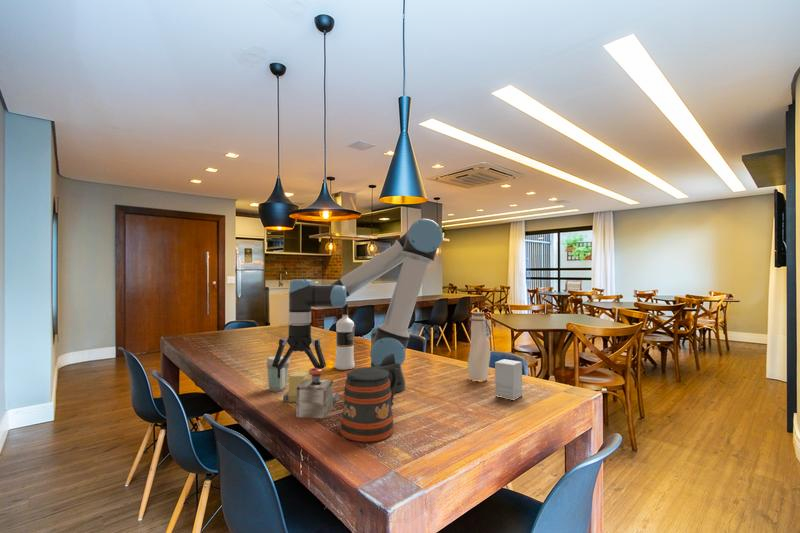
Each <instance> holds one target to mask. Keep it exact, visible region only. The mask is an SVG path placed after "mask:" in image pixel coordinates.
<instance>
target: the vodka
mask: <svg viewBox="0 0 800 533" xmlns="http://www.w3.org/2000/svg"><path fill="white" fill-rule="evenodd" d="M335 326H336V328H335V329H336V330H335V331H336V335H335V336H336V342H335V343H336V346H335V352H336V353H335V360H334V361H335V362H334V368H335V369H336V370H338V371H348V369H350V370H352V369H355V367H356V366H355V364H356V362H355V358H354V357H355V356H354V348H355V346H354V343H355V339H354V336H355V335H354V334H355V333H354V332H355V323H354V321H353V320H352V319H351V318H349V303H347V302H346V305H345V306H344V307H342V316H341V318H340V319H338V320H337V322H336V324H335Z"/></svg>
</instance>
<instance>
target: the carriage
mask: <svg viewBox="0 0 800 533" xmlns="http://www.w3.org/2000/svg"><path fill="white" fill-rule="evenodd" d="M309 375H310V374H309V371H293V372H292V373H291V374H290V375H288V391H289V401H288V402H289V403H291V402H292V403H293V402H296V403H297V387H298V386H299V385H300V384H301V383H302V382H303V381H304V380H305V379H310V377H309Z"/></svg>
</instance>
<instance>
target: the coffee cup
mask: <svg viewBox="0 0 800 533" xmlns="http://www.w3.org/2000/svg"><path fill="white" fill-rule="evenodd" d="M275 356H276V355H271V356H269V357H267V359H266V365H267V377H268V387H269V389H268V390H269V391H270V392H273V393H278V392H284V391H285V390H286V389H287V384H288V383H287V382H288V377H289V367H290V364H291V360H290V357H289V358H288V360H287V361H286V363H285V364H284V366H283V368H285V387H284V388H282V389H280V378H278V369H277V368H276V367H273V366H272V364H273V361H274V358H275ZM284 356H285V354H284V355H281V358H280V360H279V363H280V362H281V360H282V359H283V357H284Z"/></svg>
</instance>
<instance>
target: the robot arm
mask: <svg viewBox="0 0 800 533" xmlns="http://www.w3.org/2000/svg"><path fill="white" fill-rule="evenodd" d="M442 242H443V231H442V228H441V226H440V225H439V224H438V223H437V222H436V221H434V220H432V219H429V218H422V219H417V220H416V221H414V222H413V223H412V224H411V225H410V226H409V228H408V230H407V231H406V232H404V234H403V235H401V236H400V237H399V238H397V239H395V242H394V244H393V245H391V246H389V247H388V248H386V249H385V250H383V251H382V252H380V253H378V254H376V255H375V256H373V257H372V258H371V259H369V260H367V261H365V262H364V263H362V264H361V265H359V266H357V267H356V268H355V269H353V270H351V271H350V272H348V273H346V274H345V275H343V276H342V277H340V278H339V279H337V280H335V281H334V282H332V283H331V284H330V285H329V284H328V285H327V284H326V285H323V284H322V285H315V284H313V282H312V281H313V280H311V279H298V278H297V279H295V278H294V279H291V280H290V282H289V292H288V303H289V304H288V323H289V325H288V335H287V336H288V337H287V338H284V337H282V338H280V339H279V340H278V347H277V351H276V353H275V355H274V356H275V358H274V361H273V364H272V366H273V367H276V368H277V369H278V378H280V389H282V388H284V387H285V368H283V366H284V364H285V363H286V361H287V360H288V358H289V359H290V357H291V355H292V354H293V352H301V353H302V352H304V353H305V354H306V355H307V357H308V359H309V361H310V362H311V364H312V365H313V368H321V369H322V370H323V369H324V368H326V365H327V364H326V361H325V357H324V353H323V350H322V348H321V340H320V338H318V339H312V325H311V324H310V323H312V308H313V307H314V308H317V307H319V308H322V307H323V308H324V307H325V308H343V307H344V306H345V305H346V303H347V298H349V297H350V296H351V295H354V293H356V292H357V291H358V292H359V290H361V289H363V288H364V287H365V286H367V285H369V284H370V283H372V282H373V281H375V280H377V279H378V278H380V277H381V276H384V275H385V274H387V273H388V272H390V271H392V270H393V269H394V268H396V267H398V266H399V265H400V264H402V265H401V268H400V271H399V274H398V278H397V280H396V284H395V286H394V289H393V290H394V291H393V293H392V296H391V299H390V303H389V306H388V308H387V312H386V314H385V318H384V321H383V322H382V323H381V324H379V325H378V326H377V327H373V328H371V334H370V337H371V338H370V352H369V353H370V354H369V356H370V367H374V366H375V365H379V364H381V363H382V361H383V359H384V358H385V357H386V356H388V355H390V354H394V356H395V363H399V364H400V368H396V371H397V376H398V382H397V388H396V391H395V394H396V393H399V392H402V391H404V390H406V380H405V376H404V373H403V369H402V365H403V363H404V361H405V359H406V354H407V353H406V349H407V346H408V343H409V340H410V336H411V335H410V333H409V331H408V329H409V326H410V322H411V320H412V315H413V314H414V313H413V312H414V310H415V306H416V303H417V300H418V297H419V295H420V291H421V287H422V284H423V280H424V278H425V276H426V271H427V268H428V265H431V264H433V263H434V260H435V257H436V255H437V252H438V248H439V247H441V245H442ZM287 344H288V345H289V347H288V350H287V351H286V352H285V354H284V357H283V359H282V360H281V362H280V363H279V360H280V358H281V355H282V354H283V351H284V349H285V346H286V345H287ZM311 344H312V346H313V347H314V349H315V353H316V356H317V357H316V356H315V354H314V352H313V351H312V348H311V347H310V345H311ZM388 372H389V376H388V377H389V379H390V384H391V382H392V373H391V372H390V371H388Z"/></svg>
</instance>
